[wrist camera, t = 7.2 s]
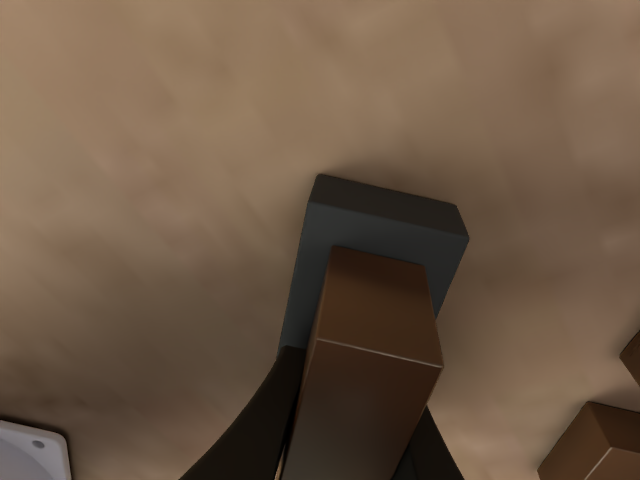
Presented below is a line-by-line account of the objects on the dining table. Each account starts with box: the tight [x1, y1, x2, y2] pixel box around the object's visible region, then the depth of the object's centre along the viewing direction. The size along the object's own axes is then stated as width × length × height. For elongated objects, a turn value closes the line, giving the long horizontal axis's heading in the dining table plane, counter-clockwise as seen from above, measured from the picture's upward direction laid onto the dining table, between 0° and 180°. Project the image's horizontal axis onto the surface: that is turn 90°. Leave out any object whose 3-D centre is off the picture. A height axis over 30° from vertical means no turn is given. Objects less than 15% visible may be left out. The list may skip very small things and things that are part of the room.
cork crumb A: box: [537, 402, 640, 480], centre depth 15 cm, size 4×4×2 cm
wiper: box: [276, 174, 469, 480], centre depth 12 cm, size 4×10×6 cm, turn 169°
